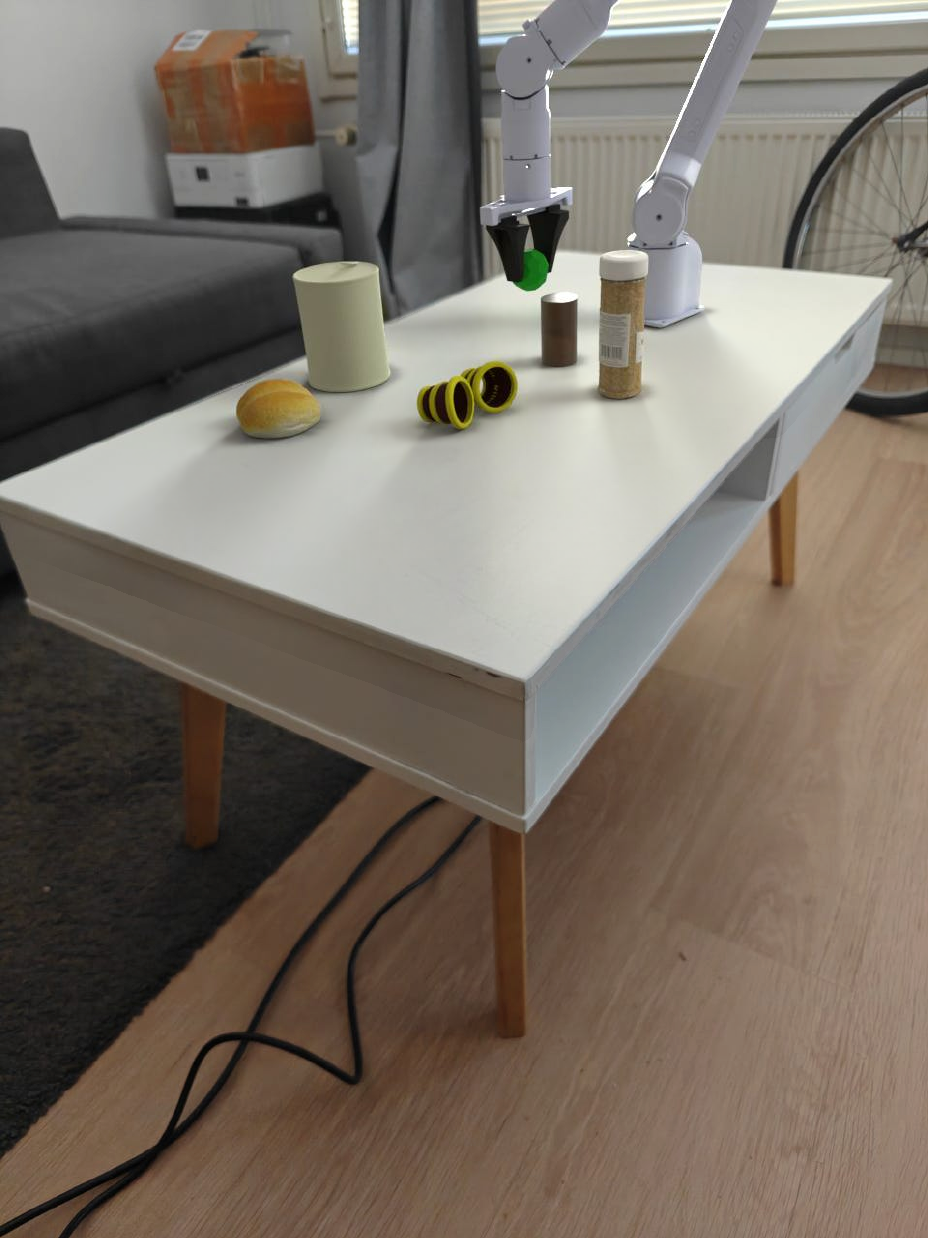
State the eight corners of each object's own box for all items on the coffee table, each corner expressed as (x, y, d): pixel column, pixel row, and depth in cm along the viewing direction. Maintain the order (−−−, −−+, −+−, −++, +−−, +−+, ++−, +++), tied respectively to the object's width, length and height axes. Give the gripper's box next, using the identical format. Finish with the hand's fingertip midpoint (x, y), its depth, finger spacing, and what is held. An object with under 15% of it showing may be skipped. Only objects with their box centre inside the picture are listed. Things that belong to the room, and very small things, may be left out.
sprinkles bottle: (651, 392, 91) (659, 253, 83) (617, 403, 89) (622, 261, 81) (620, 381, 94) (625, 246, 87) (587, 391, 92) (589, 254, 85)
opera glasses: (485, 404, 93) (476, 356, 91) (522, 404, 89) (514, 354, 87) (419, 434, 88) (407, 383, 85) (456, 436, 84) (444, 383, 82)
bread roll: (248, 447, 85) (239, 407, 83) (235, 417, 92) (226, 379, 90) (331, 431, 87) (325, 391, 85) (312, 402, 95) (306, 365, 92)
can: (405, 368, 102) (394, 257, 95) (364, 395, 95) (349, 279, 89) (336, 361, 106) (321, 255, 99) (293, 388, 99) (273, 275, 92)
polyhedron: (503, 289, 115) (501, 250, 112) (535, 282, 117) (534, 243, 114) (524, 296, 111) (523, 256, 108) (556, 289, 113) (556, 249, 110)
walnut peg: (557, 353, 103) (557, 290, 99) (584, 359, 101) (585, 295, 97) (534, 362, 101) (533, 298, 97) (561, 369, 98) (561, 304, 95)
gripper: (542, 146, 112) (544, 260, 119) (459, 164, 104) (466, 284, 111) (585, 148, 107) (585, 266, 115) (502, 166, 99) (507, 292, 107)
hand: (529, 276), depth 113 cm, fingers closed on polyhedron, 5 cm apart
